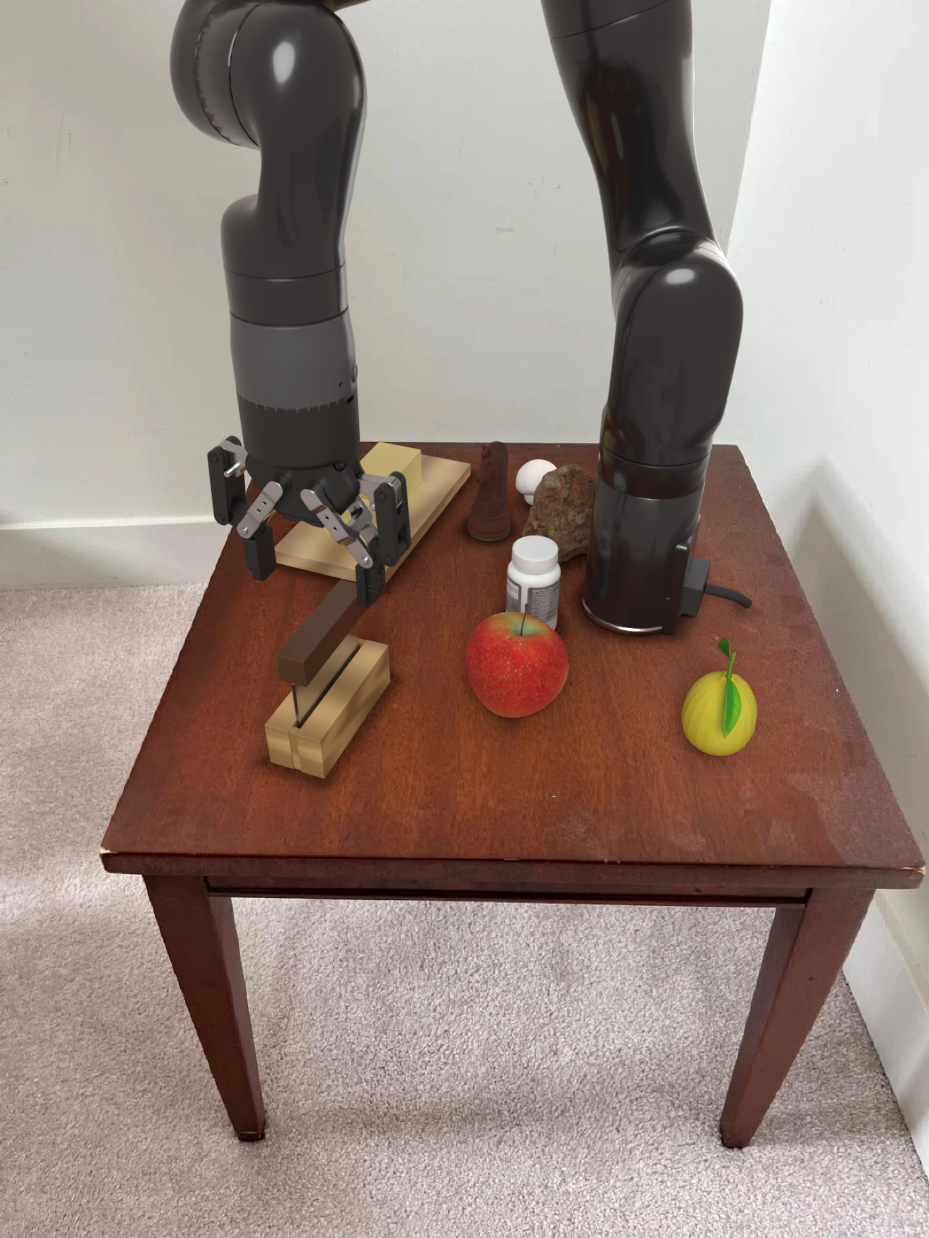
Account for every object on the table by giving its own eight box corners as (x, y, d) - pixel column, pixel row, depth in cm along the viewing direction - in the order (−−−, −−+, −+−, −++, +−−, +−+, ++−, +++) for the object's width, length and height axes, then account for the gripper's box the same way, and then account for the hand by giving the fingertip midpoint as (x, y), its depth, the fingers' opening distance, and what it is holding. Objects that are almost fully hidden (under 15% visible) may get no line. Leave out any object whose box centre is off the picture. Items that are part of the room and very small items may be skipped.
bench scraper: (348, 678, 80) (340, 579, 74) (372, 685, 80) (365, 585, 73) (290, 758, 73) (275, 655, 67) (316, 765, 72) (303, 662, 66)
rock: (521, 575, 92) (524, 476, 88) (519, 551, 98) (522, 458, 94) (618, 576, 92) (626, 478, 88) (610, 553, 98) (618, 459, 94)
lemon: (703, 709, 78) (725, 613, 72) (765, 747, 74) (793, 649, 68) (653, 749, 74) (671, 651, 68) (715, 790, 71) (740, 691, 65)
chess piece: (458, 531, 99) (458, 445, 93) (487, 511, 102) (489, 427, 96) (493, 546, 97) (495, 459, 91) (521, 526, 100) (526, 440, 94)
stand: (341, 668, 81) (337, 631, 79) (390, 681, 80) (388, 644, 78) (270, 762, 73) (263, 724, 70) (324, 779, 71) (319, 741, 69)
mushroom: (511, 510, 102) (512, 470, 99) (518, 489, 106) (520, 449, 103) (556, 516, 102) (559, 475, 99) (562, 494, 105) (565, 454, 102)
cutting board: (470, 475, 109) (470, 463, 108) (382, 588, 91) (381, 575, 90) (376, 456, 112) (375, 445, 111) (273, 562, 94) (271, 549, 93)
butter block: (421, 482, 104) (421, 449, 102) (383, 526, 97) (382, 492, 94) (380, 473, 106) (379, 441, 103) (340, 517, 98) (337, 483, 96)
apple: (444, 698, 78) (444, 602, 72) (519, 661, 82) (524, 566, 76) (506, 754, 73) (511, 656, 67) (582, 711, 77) (593, 615, 71)
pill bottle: (562, 614, 88) (569, 538, 83) (549, 644, 84) (555, 567, 79) (513, 604, 89) (517, 528, 84) (498, 633, 85) (501, 556, 80)
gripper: (164, 381, 58) (204, 593, 68) (372, 423, 54) (382, 642, 64) (231, 339, 64) (259, 541, 73) (425, 374, 60) (426, 583, 69)
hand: (316, 588), depth 69 cm, fingers open, 8 cm apart
